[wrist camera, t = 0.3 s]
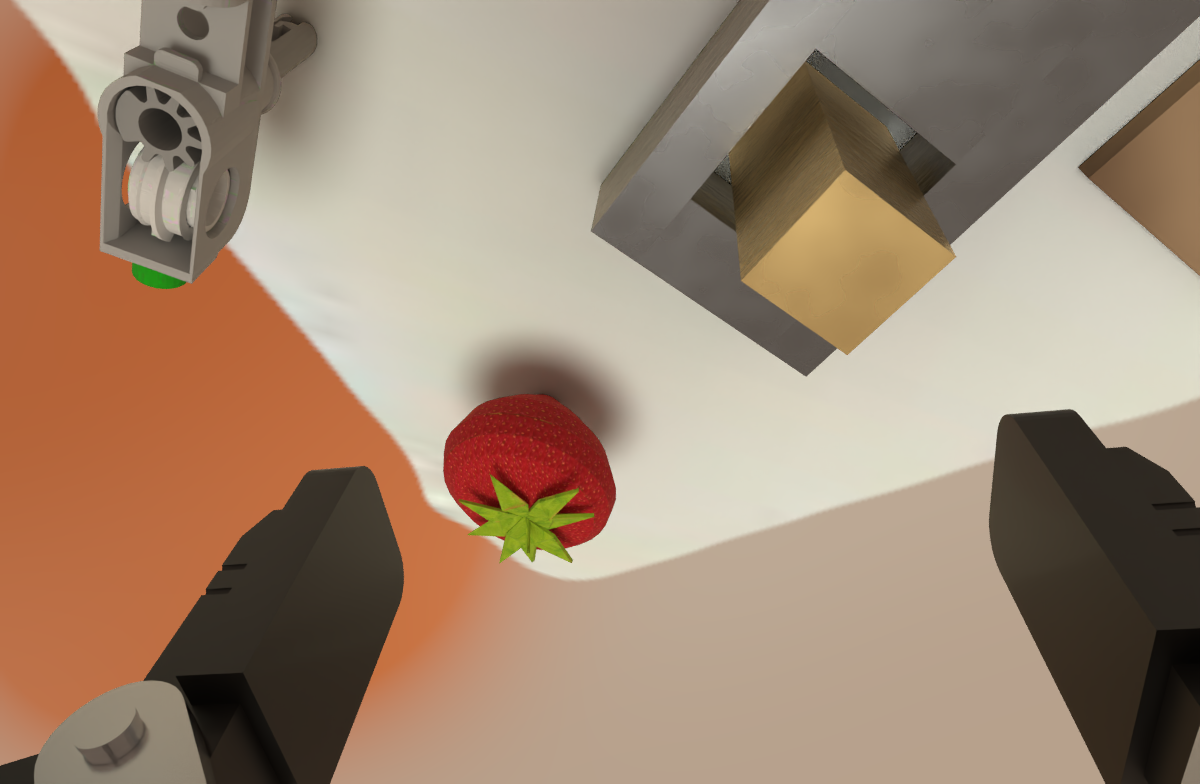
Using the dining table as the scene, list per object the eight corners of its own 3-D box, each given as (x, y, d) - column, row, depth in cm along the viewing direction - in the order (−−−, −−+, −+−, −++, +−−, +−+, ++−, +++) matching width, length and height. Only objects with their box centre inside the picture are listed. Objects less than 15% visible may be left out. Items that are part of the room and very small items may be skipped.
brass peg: (803, 59, 29) (845, 170, 21) (886, 127, 31) (956, 256, 23) (728, 149, 32) (741, 280, 24) (809, 209, 33) (847, 355, 25)
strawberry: (511, 312, 37) (460, 466, 29) (652, 399, 39) (641, 565, 31) (446, 398, 40) (385, 559, 32) (580, 474, 42) (554, 643, 34)
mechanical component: (364, -99, 28) (231, -41, 20) (312, 177, 34) (193, 307, 26) (274, -138, 27) (101, -96, 19) (237, 148, 33) (93, 271, 25)
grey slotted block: (1179, -584, 20) (1271, -649, 17) (1410, -278, 23) (1526, -284, 20) (600, 185, 33) (591, 231, 30) (795, 321, 36) (806, 376, 32)
